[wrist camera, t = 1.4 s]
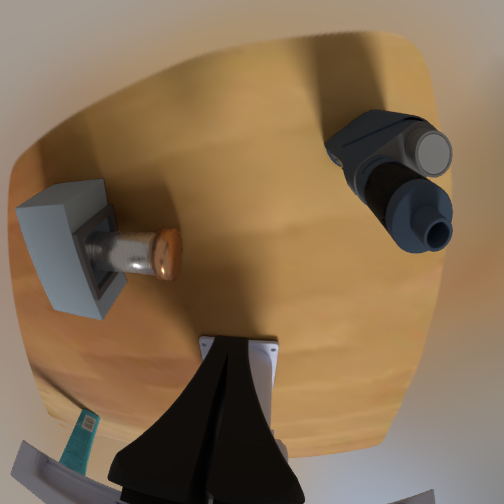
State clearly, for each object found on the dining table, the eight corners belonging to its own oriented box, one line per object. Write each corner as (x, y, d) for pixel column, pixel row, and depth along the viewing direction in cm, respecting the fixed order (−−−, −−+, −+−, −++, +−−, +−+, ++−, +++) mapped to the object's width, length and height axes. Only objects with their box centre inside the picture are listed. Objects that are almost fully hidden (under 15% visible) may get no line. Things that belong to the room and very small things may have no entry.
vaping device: (315, 146, 16) (385, 227, 6) (374, 102, 14) (508, 126, 4) (338, 176, 17) (418, 287, 7) (395, 133, 15) (525, 195, 5)
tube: (82, 412, 49) (60, 471, 32) (76, 404, 46) (51, 466, 30) (107, 422, 49) (86, 484, 33) (102, 415, 47) (79, 481, 30)
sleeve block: (80, 276, 24) (54, 309, 19) (53, 184, 19) (15, 208, 14) (131, 282, 23) (107, 321, 19) (108, 178, 18) (68, 203, 14)
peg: (110, 257, 21) (90, 282, 18) (100, 219, 19) (76, 241, 16) (184, 262, 21) (171, 291, 18) (179, 220, 19) (162, 245, 16)
